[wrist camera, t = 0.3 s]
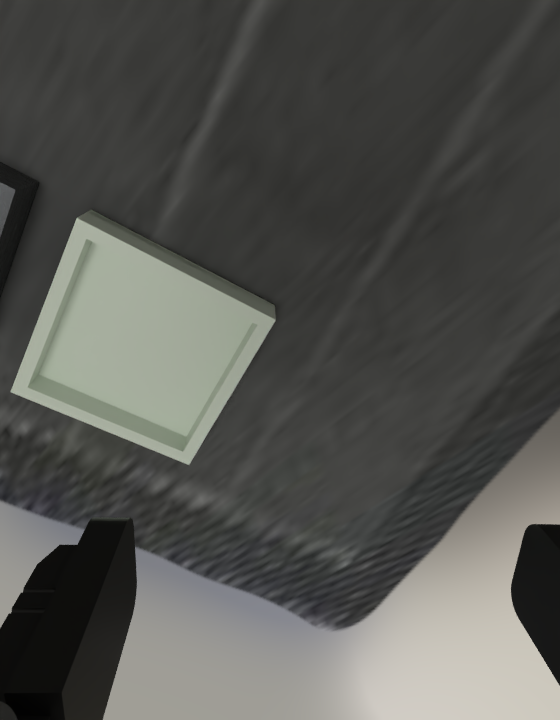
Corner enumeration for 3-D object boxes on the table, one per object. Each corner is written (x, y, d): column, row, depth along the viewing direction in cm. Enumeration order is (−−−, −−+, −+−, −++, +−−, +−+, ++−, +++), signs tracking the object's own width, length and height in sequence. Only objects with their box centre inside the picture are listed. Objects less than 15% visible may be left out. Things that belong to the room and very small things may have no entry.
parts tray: (91, 209, 28) (76, 217, 26) (274, 305, 31) (275, 319, 29) (27, 372, 33) (10, 391, 31) (193, 442, 36) (188, 464, 34)
